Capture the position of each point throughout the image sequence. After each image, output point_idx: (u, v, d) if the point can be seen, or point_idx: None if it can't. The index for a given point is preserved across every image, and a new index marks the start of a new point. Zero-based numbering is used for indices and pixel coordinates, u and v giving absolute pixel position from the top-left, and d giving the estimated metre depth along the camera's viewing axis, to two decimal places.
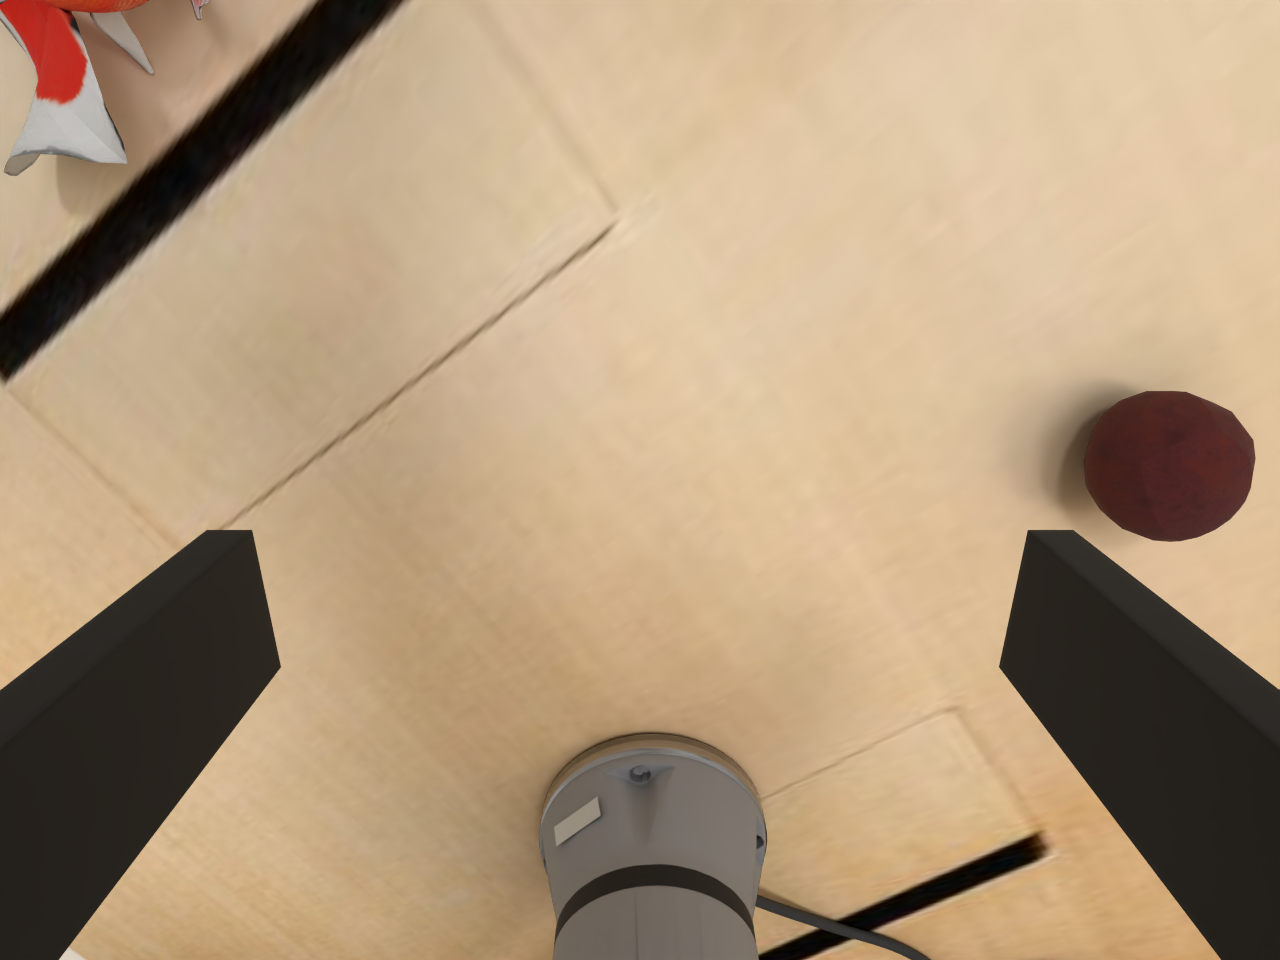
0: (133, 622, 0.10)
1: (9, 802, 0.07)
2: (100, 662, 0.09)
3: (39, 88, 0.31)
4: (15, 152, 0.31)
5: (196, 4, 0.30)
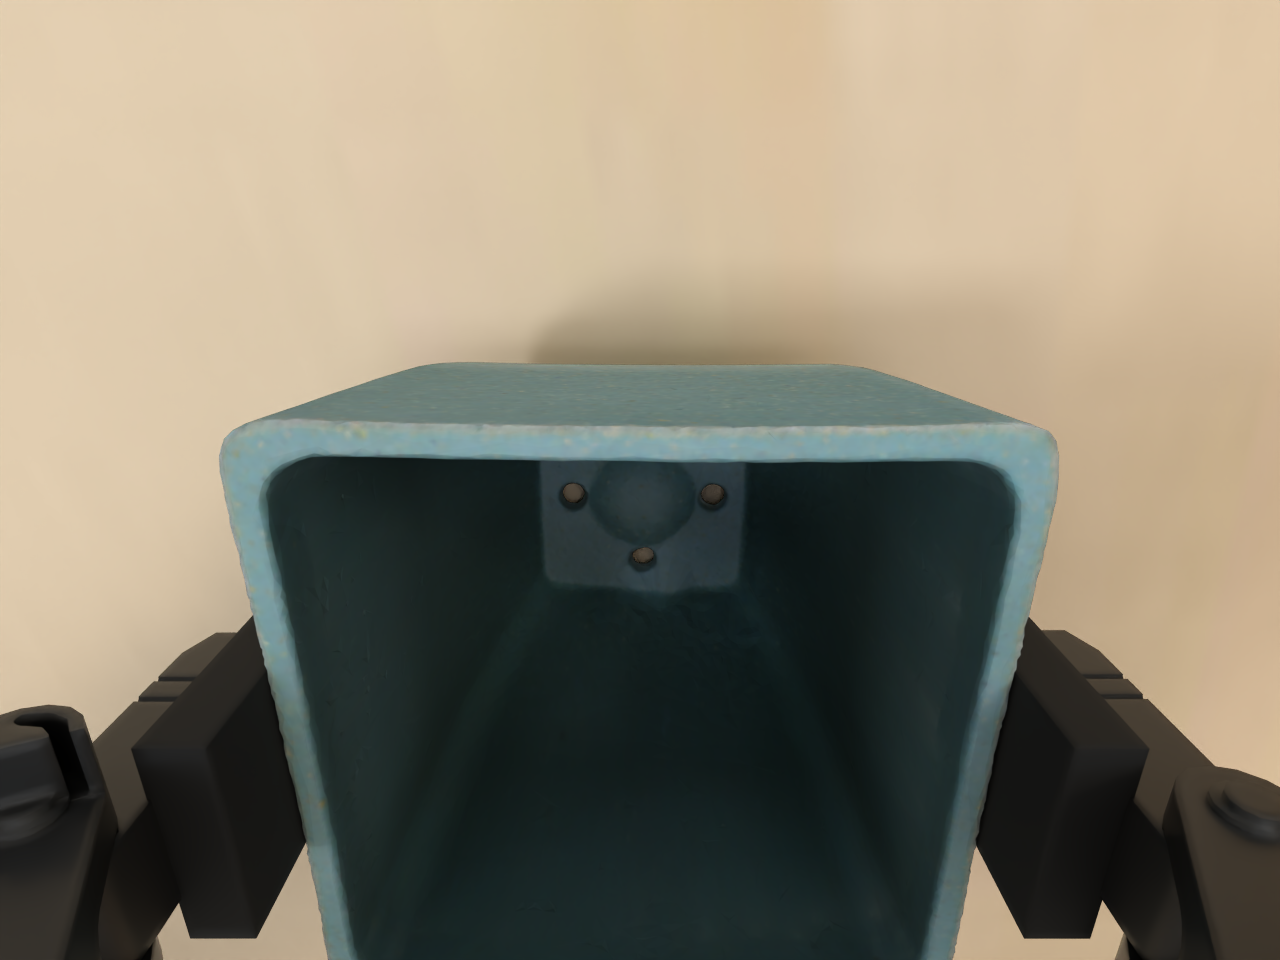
0: None
1: (273, 713, 0.09)
2: None
3: None
4: None
5: None
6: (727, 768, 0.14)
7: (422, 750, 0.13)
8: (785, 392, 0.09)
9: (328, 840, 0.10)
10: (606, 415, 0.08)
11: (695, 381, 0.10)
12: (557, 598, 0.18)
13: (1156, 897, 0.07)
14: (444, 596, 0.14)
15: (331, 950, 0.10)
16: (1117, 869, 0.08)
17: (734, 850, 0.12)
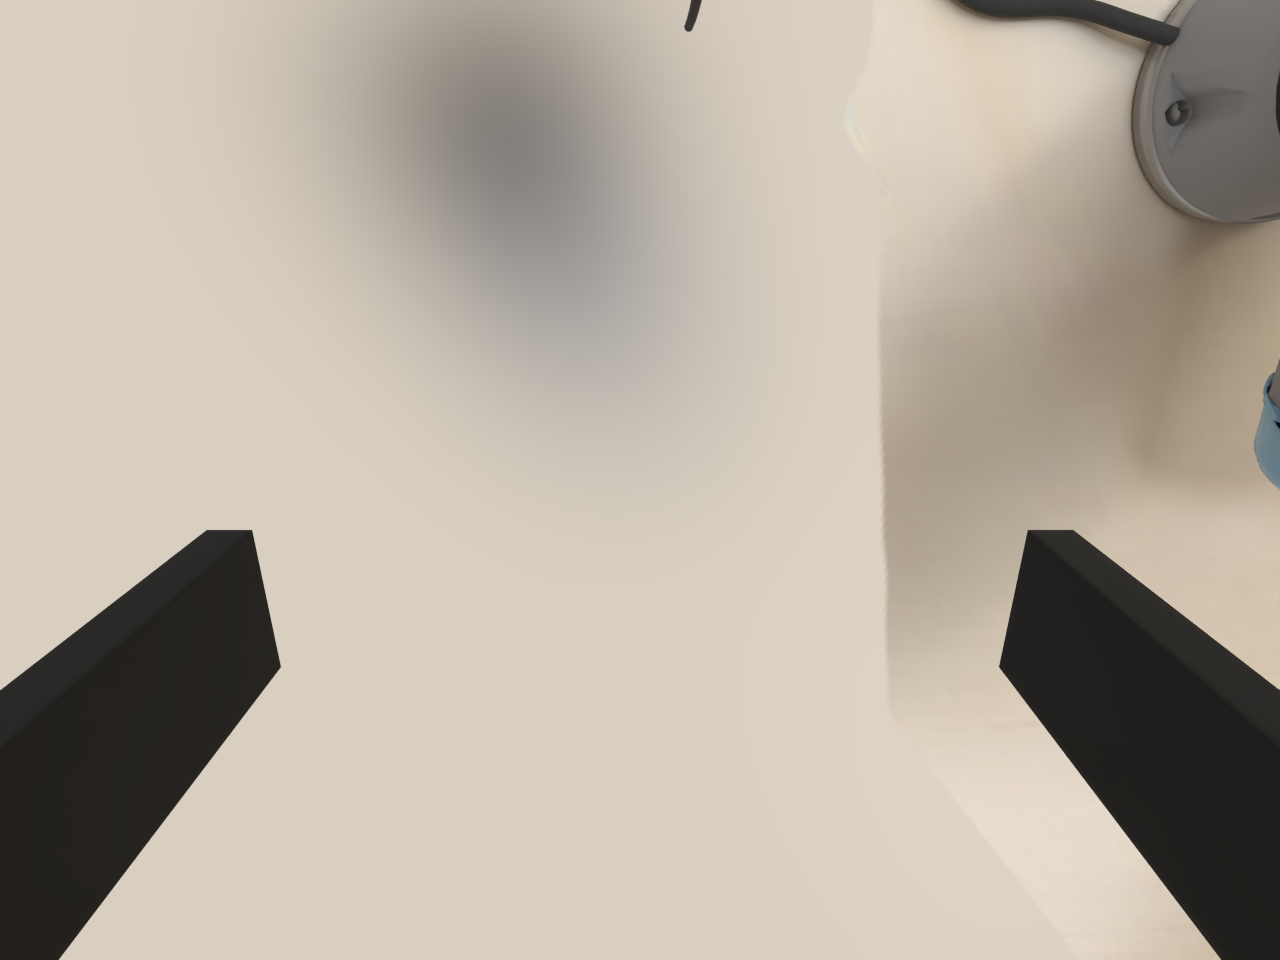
0: (132, 622, 0.10)
1: (8, 801, 0.07)
2: (100, 662, 0.09)
3: None
4: None
5: None
6: None
7: None
8: None
9: None
10: None
11: None
12: None
13: None
14: None
15: None
16: None
17: None
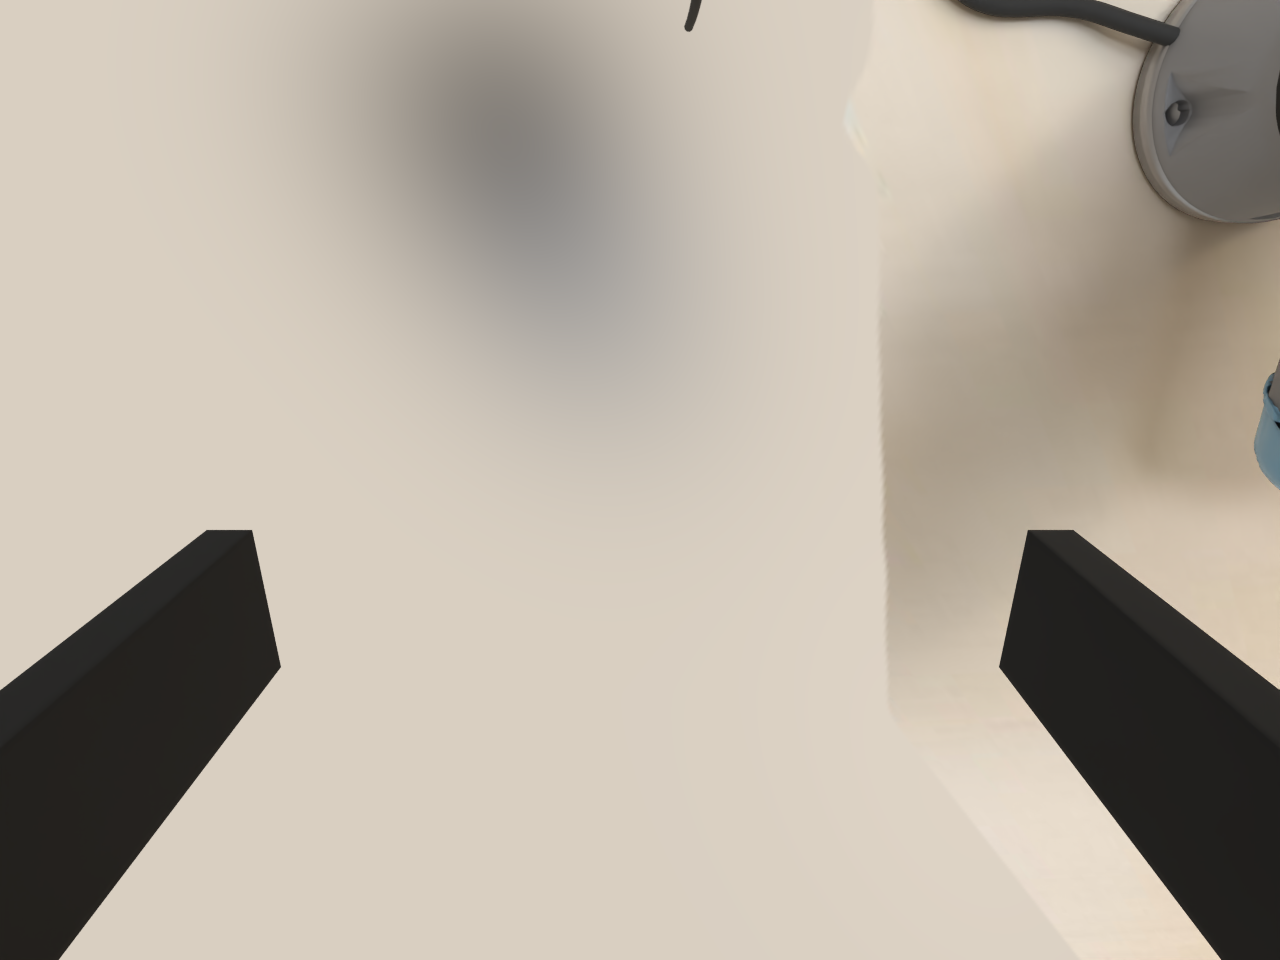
0: (132, 622, 0.10)
1: (8, 801, 0.07)
2: (100, 662, 0.09)
3: None
4: None
5: None
6: None
7: None
8: None
9: None
10: None
11: None
12: None
13: None
14: None
15: None
16: None
17: None
